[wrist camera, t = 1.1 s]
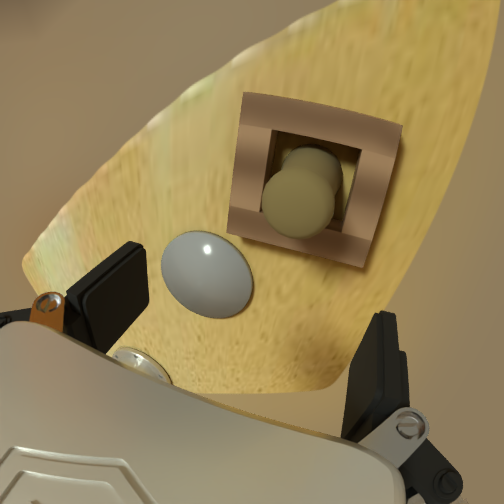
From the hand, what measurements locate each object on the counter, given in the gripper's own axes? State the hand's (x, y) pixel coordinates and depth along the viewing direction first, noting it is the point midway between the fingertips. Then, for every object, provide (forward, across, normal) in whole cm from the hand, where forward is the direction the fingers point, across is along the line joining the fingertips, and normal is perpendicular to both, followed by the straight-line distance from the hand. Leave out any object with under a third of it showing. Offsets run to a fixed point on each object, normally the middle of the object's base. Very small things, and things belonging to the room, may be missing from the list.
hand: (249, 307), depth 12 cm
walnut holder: (+21, 0, 0) cm, 21 cm away
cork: (+22, 0, 0) cm, 22 cm away
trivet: (+21, +10, +15) cm, 28 cm away
